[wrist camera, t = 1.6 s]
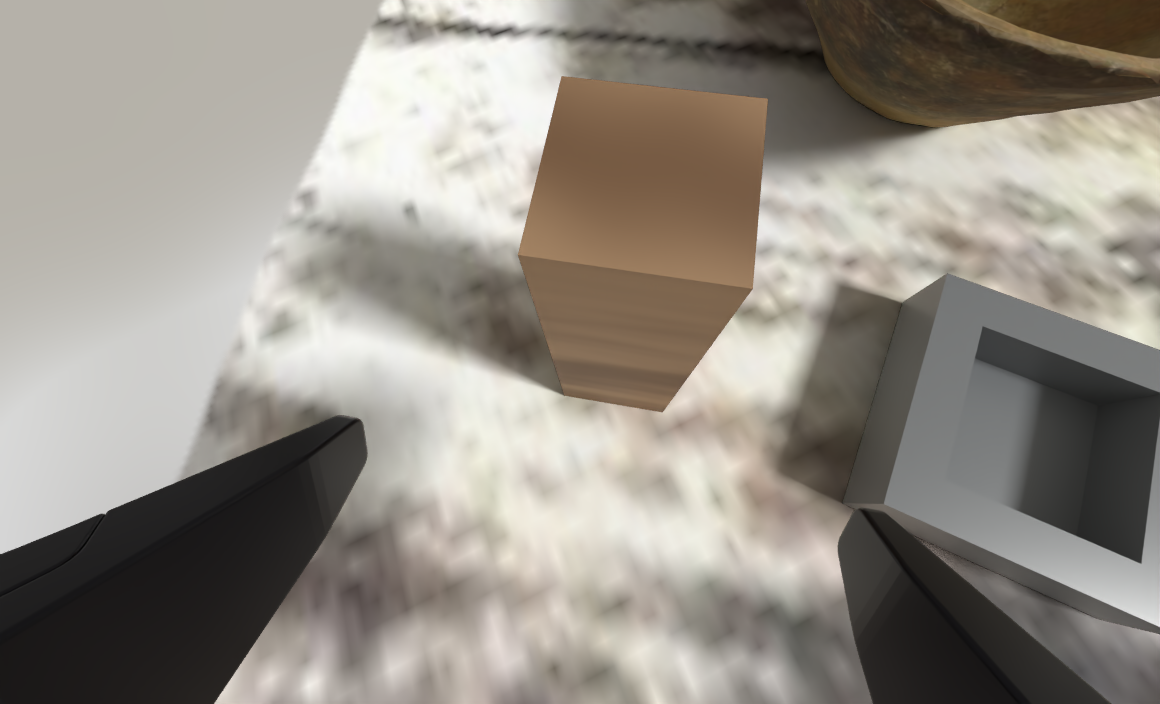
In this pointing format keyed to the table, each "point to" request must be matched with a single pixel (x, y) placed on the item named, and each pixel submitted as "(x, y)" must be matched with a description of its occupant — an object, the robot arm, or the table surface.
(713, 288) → the tall wooden post
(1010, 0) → the bowl
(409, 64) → the table surface
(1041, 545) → the socket
